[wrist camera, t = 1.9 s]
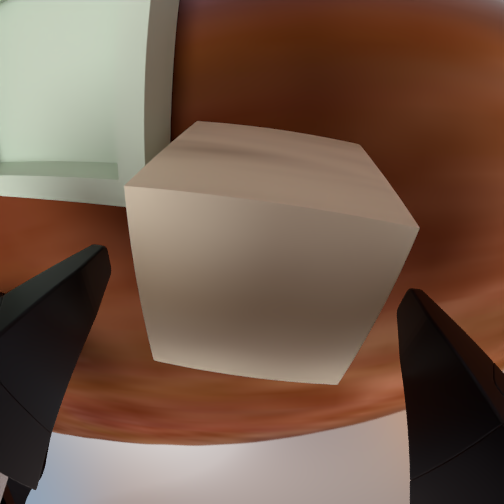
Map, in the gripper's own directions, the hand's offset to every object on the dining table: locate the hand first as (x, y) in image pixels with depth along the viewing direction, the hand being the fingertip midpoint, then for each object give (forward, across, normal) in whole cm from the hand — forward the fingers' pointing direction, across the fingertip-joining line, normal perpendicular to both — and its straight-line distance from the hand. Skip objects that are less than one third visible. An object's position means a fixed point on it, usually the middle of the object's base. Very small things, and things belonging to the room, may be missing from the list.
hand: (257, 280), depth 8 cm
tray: (+5, +9, -10) cm, 14 cm away
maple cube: (+5, 0, 0) cm, 5 cm away
